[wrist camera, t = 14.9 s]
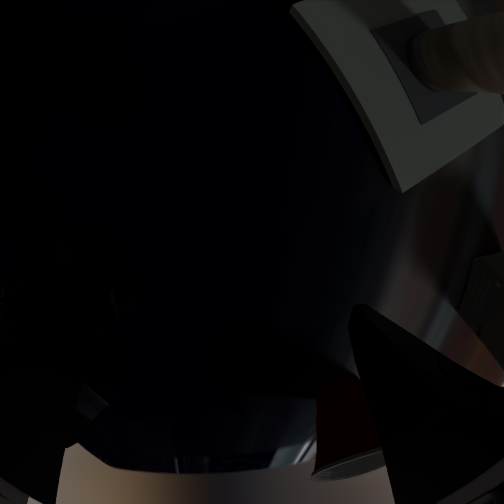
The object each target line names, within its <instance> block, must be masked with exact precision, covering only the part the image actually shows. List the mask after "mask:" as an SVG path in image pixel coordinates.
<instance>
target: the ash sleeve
mask: <svg viewBox="0 0 504 504" xmlns="http://www.w3.org/2000/svg"><path fill="white" fill-rule="evenodd" d="M406 53H407V60H408V63H409V66H410V68H411V70H412V72H413V74H414V76H415V77H416V78H417V80H418V81H419V82H420V83H421V84H422V85H423V86H424V87H426V88H427V89H429V90H431V91H433V92H438V93H444V92H481V93H497V94H504V12H501V13H495V14H490V15H484V16H480V17H475V18H471V19H467V20H463V21H459V22H455V23H451V24H448V25H444V26H441V27H438V28H433V29H429V30H426V31H423V32H420V33H417V34H415V35H413V36H412V37H411V38H410V39H409V41H408V44H407V48H406Z"/></svg>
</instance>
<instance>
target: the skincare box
mask: <svg viewBox="0 0 504 504" xmlns="http://www.w3.org/2000/svg"><path fill="white" fill-rule="evenodd" d="M458 314H459V315H460V316H461V317H462V319H463V320H464V321H465V322H466V323H467V324H468V326H469V327H470V328H471V329H472V330H473V331H474V333H475V334H476V335H477V336H478V338H479V339H480V340H481V341H482V343H483V344H484V345H485V346H486V348H487V349H488V350H489V351H490V353H491V354H492V355H493V356H494V358H495V359H496V360H497V362H498V363H499V364H500V366H501V367H502V369H503V370H504V251H502V252H497V253H494V254H490V255H485V256H481V257H475V258H474V260H473V265H472V269H471V273H470V277H469V280H468V284H467V287H466V290H465V293H464V296H463V299H462V302H461V305H460V308H459V311H458Z"/></svg>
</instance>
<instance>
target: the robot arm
mask: <svg viewBox="0 0 504 504" xmlns="http://www.w3.org/2000/svg"><path fill="white" fill-rule="evenodd" d="M64 244H65V245H66V247H65V245H64ZM116 244H118V245H119V248H118V247H117V246H116ZM60 247H61V251H62V255H63V259H64V260H63V261H62V262H61V263H60V264H59V265H58V266H57V267H56V268H55V266H54V265H53V263H54V262H53V261H52V259H51V258H50V257H48V258H47V259H46V260H45V261H43V260H41V261H39V262H37V261H34V260H32V259H31V260H29V261H28V262H27V263H26V264H25V265H24V266H23V267H22V268H20V269H19V270H18V271H17V272H16V273H15V274H14V275H13V276H12V277H11V278H10V279H9V280H8V281H7V282H6V283H5V284H4V285H3V286H2V298H1V299H0V504H27V502H28V497H31V498H33V499H35V500H37V501H38V502H41V503H42V504H56V497H57V490H58V484H59V477H60V472H61V467H62V462H63V460H62V459H63V456H64V452H65V448H69V447H71V446H72V445H74V444H76V443H78V442H79V441H80V439H81V438H82V436H83V434H84V432H85V431H86V429H87V427H88V426H89V425H90V423H91V422H92V420H93V419H94V418H95V417H96V416H97V415H98V414H99V412H101V411H102V410H103V409H104V408H105V407H107V406H108V405H109V404H110V400H111V398H112V397H113V396H114V394H115V392H116V390H117V387H118V383H119V379H120V373H119V361H120V346H119V345H118V344H117V343H116V342H113V340H112V339H111V338H110V337H109V336H108V335H107V333H108V331H109V329H110V327H111V325H112V323H113V321H114V319H119V318H120V316H121V314H122V312H123V311H124V309H125V307H132V306H133V304H134V302H135V299H134V295H133V291H134V286H133V281H132V276H131V271H130V266H129V265H128V263H127V261H126V256H125V250H124V244H123V242H122V241H121V240H119V239H88V240H64V241H63V242H61V244H60ZM128 301H130V302H128ZM348 331H349V335H350V340H351V344H352V349H353V353H354V358H355V363H356V367H357V370H358V373H359V376H360V379H361V382H362V385H363V388H364V391H365V395H366V398H367V401H368V404H369V407H370V411H371V414H372V417H373V421H374V424H375V427H376V431H377V434H378V438H379V441H380V445H381V449H382V452H383V456H384V460H385V464H386V467H387V472H388V476H389V480H390V484H391V488H392V493H393V497H394V501H395V504H504V387H500V386H497V385H495V384H493V383H491V382H489V381H487V380H485V379H484V378H482V377H480V376H478V375H476V374H475V373H473V372H471V371H469V370H467V369H466V368H464V367H462V366H460V365H459V364H457V363H455V362H454V361H452V360H451V359H449V358H447V357H446V356H444V355H443V354H441V353H440V352H438V351H437V350H435V349H434V348H432V347H431V346H429V345H428V344H426V343H425V342H423V341H422V340H420V339H419V338H417V337H415V336H414V335H412V334H411V333H409V332H408V331H406V330H405V329H403V328H402V327H400V326H399V325H397V324H395V323H394V322H392V321H391V320H389V319H388V318H386V317H385V316H383V315H381V314H380V313H378V312H377V311H375V310H374V309H372V308H371V307H369V306H367V305H366V304H358V305H354V307H353V309H352V312H351V316H350V319H349V323H348Z"/></svg>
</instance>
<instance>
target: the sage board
mask: <svg viewBox="0 0 504 504" xmlns="http://www.w3.org/2000/svg"><path fill="white" fill-rule="evenodd" d="M289 13H290V14H291V15H292V16H293V17H294V19H295V20H296V21H297V22H298V24H299V25H300V26H301V28H302V29H303V30H304V31H305V33H306V34H307V35H308V37H309V38H310V39H311V41H312V42H313V44H314V45H315V46H316V48H317V49H318V50H319V52H320V53H321V55H322V56H323V58H324V59H325V61H326V62H327V64H328V65H329V67H330V68H331V70H332V71H333V73H334V74H335V76H336V77H337V79H338V81H339V82H340V84H341V85H342V87H343V89H344V90H345V92H346V94H347V95H348V97H349V99H350V100H351V102H352V104H353V106H354V107H355V109H356V111H357V113H358V115H359V116H360V118H361V120H362V122H363V124H364V126H365V128H366V130H367V132H368V133H369V135H370V137H371V139H372V141H373V143H374V146H375V148H376V150H377V152H378V154H379V156H380V158H381V160H382V162H383V165H384V167H385V169H386V171H387V174H388V176H389V178H390V181H391V183H392V185H393V188H395V189H396V190H398V191H400V192H402V193H403V192H405V191H406V190H408V189H409V188H411V187H412V186H414V185H416V184H417V183H419V182H420V181H422V180H423V179H425V178H426V177H428V176H429V175H431V174H432V173H434V172H435V171H437V170H438V169H440V168H441V167H443V166H444V165H446V164H447V163H449V162H450V161H452V160H453V159H455V158H456V157H458V156H459V155H460V154H462V153H463V152H465V151H466V150H468V149H469V148H471V147H472V146H474V145H475V144H476V143H478V142H479V141H481V140H482V139H484V138H485V137H486V136H488V135H489V134H491V133H492V132H493V131H495V130H496V129H498V128H499V127H500V126H502V125H503V124H504V104H503V101H502V98H501V95H500V94H497V93H481V92H444V93H438V92H433V91H431V90H429V89H427V88H426V87H424V86H423V85H422V84H421V83H420V82H419V81H418V80H417V78H416V77H415V76H414V74H413V72H412V70H411V68H410V66H409V63H408V60H407V53H406V48H407V44H408V41H409V39H410V38H411V37H412V36H413V35H415V34H417V33H420V32H423V31H426V30H429V29H433V28H438V27H441V26H444V25H448V24H451V23H455V22H459V21H463V20H467V18H466V17H465V15H464V13H463V11H462V10H461V8H460V6H459V5H458V3H457V2H456V0H303V1H301V2H298V3H295V4H293V5H292V7H291V9H290V11H289Z"/></svg>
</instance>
